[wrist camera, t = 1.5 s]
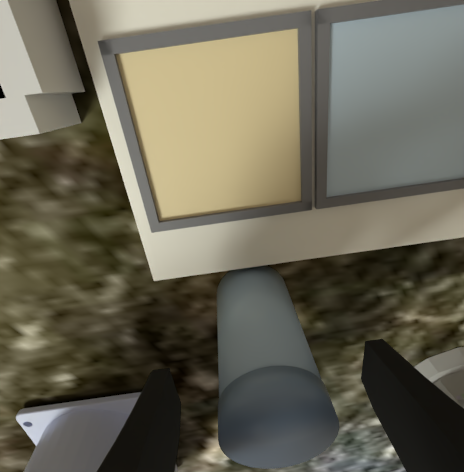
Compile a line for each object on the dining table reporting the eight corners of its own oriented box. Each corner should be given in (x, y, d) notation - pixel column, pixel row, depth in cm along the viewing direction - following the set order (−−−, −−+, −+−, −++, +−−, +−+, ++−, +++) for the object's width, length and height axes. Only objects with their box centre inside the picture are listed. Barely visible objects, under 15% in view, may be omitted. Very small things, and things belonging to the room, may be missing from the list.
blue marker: (288, 315, 16) (336, 459, 10) (221, 324, 16) (227, 475, 10) (285, 257, 14) (341, 387, 8) (210, 268, 14) (209, 406, 8)
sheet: (461, 230, 14) (476, 239, 13) (156, 273, 14) (152, 284, 13) (552, -126, 9) (586, -147, 8) (59, -54, 9) (44, -69, 8)
